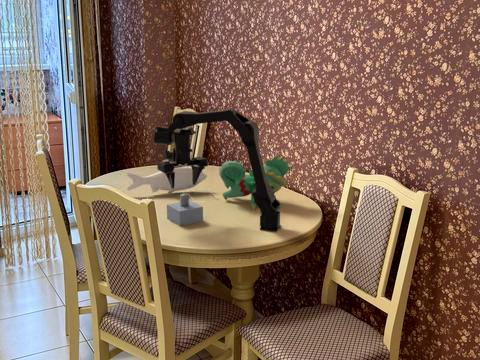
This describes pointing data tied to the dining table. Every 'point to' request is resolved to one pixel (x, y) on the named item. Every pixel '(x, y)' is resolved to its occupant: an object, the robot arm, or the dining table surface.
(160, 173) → the fish
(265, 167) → the toy
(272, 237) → the dining table surface
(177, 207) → the block with rounded knob
